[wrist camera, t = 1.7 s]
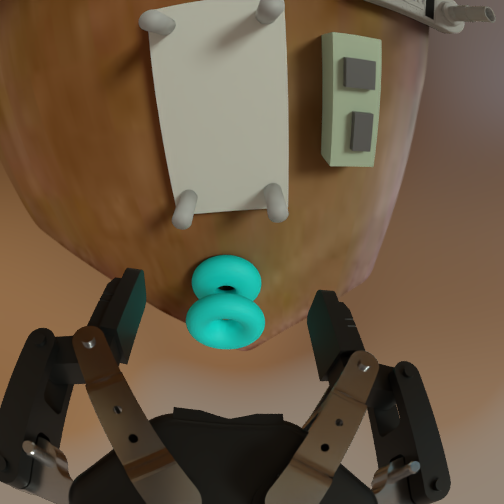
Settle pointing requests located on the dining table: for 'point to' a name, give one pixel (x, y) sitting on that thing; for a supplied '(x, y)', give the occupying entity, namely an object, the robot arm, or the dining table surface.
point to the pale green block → (350, 99)
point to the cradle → (222, 104)
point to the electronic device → (439, 13)
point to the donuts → (225, 303)
